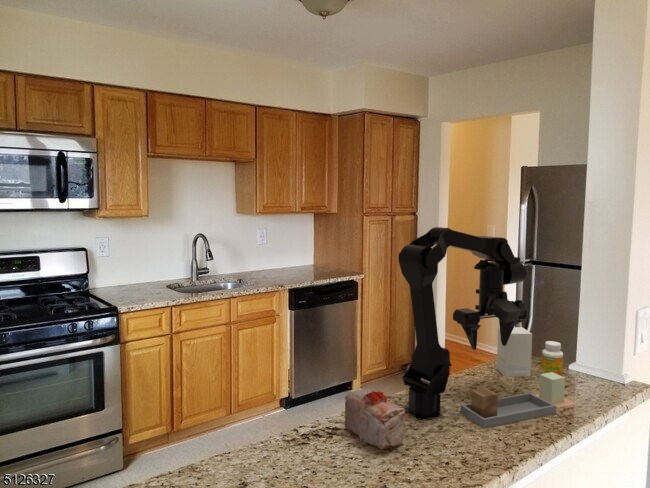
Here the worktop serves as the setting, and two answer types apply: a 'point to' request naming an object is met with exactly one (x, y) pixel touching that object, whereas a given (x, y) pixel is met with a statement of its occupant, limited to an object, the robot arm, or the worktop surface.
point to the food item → (374, 418)
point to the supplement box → (515, 353)
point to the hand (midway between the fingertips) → (489, 347)
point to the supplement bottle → (552, 358)
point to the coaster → (561, 404)
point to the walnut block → (484, 402)
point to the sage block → (552, 387)
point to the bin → (512, 410)
